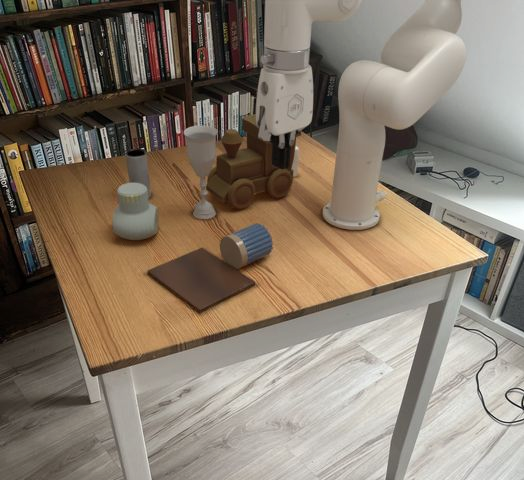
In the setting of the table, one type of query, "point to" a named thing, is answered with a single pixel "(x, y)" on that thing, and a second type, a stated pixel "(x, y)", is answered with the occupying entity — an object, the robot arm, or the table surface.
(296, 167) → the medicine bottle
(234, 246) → the tea cup
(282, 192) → the wooden toy train
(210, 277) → the walnut board
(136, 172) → the grey pipe
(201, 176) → the chalice
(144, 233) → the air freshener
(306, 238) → the table surface
